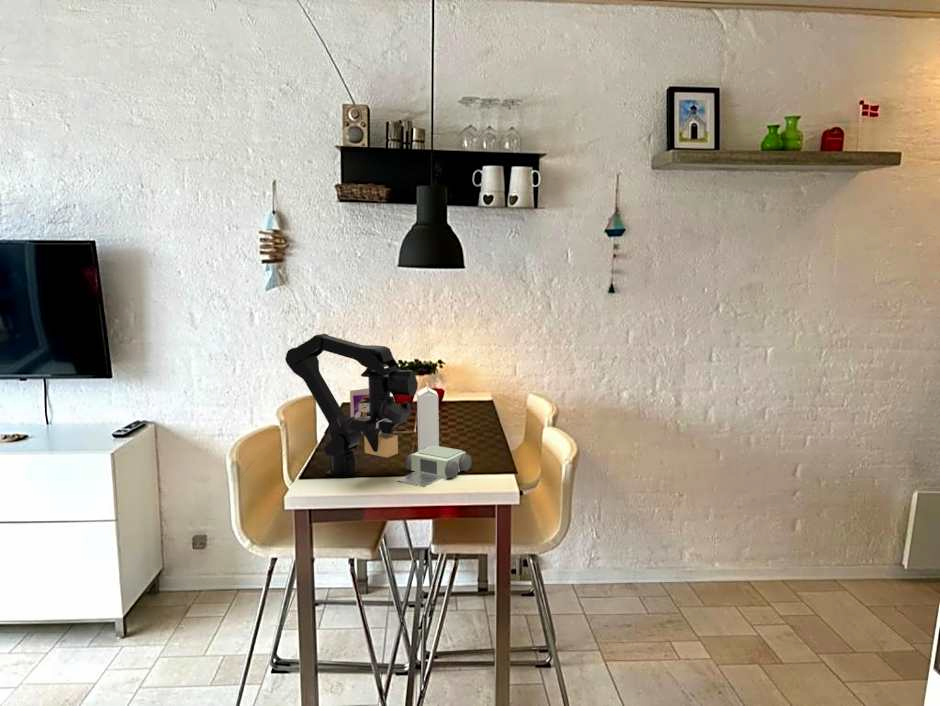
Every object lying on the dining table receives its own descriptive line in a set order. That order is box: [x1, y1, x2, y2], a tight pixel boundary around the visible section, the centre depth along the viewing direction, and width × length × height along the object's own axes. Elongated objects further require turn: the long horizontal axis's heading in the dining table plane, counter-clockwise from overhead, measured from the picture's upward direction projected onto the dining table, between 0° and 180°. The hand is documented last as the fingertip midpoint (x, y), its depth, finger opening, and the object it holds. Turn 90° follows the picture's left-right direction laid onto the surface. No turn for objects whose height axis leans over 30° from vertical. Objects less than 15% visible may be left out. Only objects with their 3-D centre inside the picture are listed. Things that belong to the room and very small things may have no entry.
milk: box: [416, 381, 440, 452], centre depth 206 cm, size 6×6×22 cm
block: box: [363, 432, 399, 458], centre depth 183 cm, size 8×4×5 cm, turn 56°
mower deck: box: [405, 445, 472, 479], centre depth 191 cm, size 15×12×5 cm
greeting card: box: [349, 387, 381, 434], centre depth 233 cm, size 11×7×15 cm, turn 91°
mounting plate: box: [396, 471, 443, 488], centre depth 184 cm, size 9×8×1 cm
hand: (381, 449), depth 183 cm, fingers closed on block, 5 cm apart
